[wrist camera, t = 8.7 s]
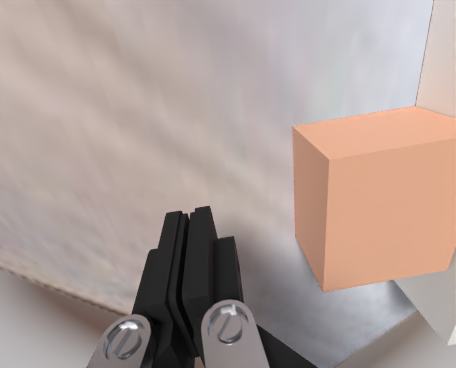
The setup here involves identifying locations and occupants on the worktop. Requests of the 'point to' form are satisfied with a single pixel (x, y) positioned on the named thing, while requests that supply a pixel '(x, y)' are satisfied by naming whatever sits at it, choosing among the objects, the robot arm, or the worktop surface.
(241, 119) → the worktop surface
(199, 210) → the robot arm
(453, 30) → the board
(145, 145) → the worktop surface
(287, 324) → the worktop surface
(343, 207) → the peach block
